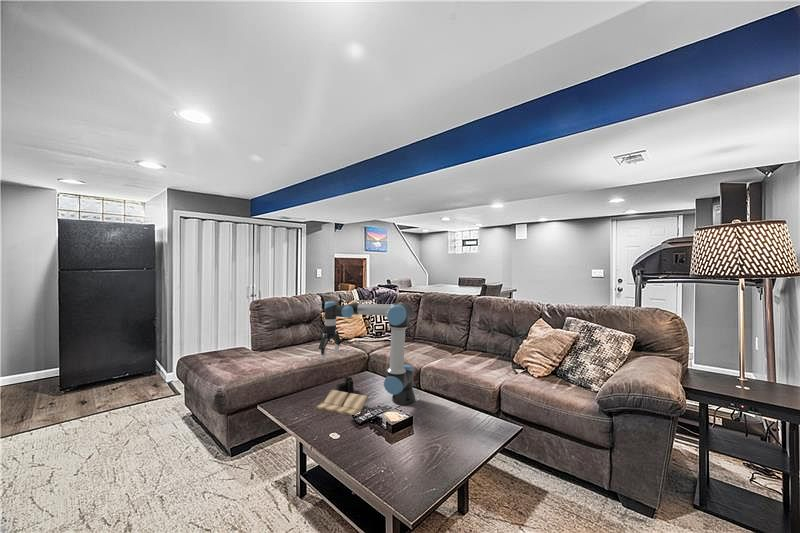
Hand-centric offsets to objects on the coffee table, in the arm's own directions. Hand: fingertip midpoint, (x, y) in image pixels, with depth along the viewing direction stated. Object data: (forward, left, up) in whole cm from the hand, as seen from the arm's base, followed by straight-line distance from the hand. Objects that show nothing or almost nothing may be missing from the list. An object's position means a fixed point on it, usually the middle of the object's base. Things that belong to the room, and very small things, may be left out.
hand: (330, 356), depth 223 cm
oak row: (-16, +15, -27) cm, 35 cm away
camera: (-4, -11, -27) cm, 29 cm away
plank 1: (-9, +7, -24) cm, 27 cm away
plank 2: (-23, +7, -24) cm, 34 cm away
